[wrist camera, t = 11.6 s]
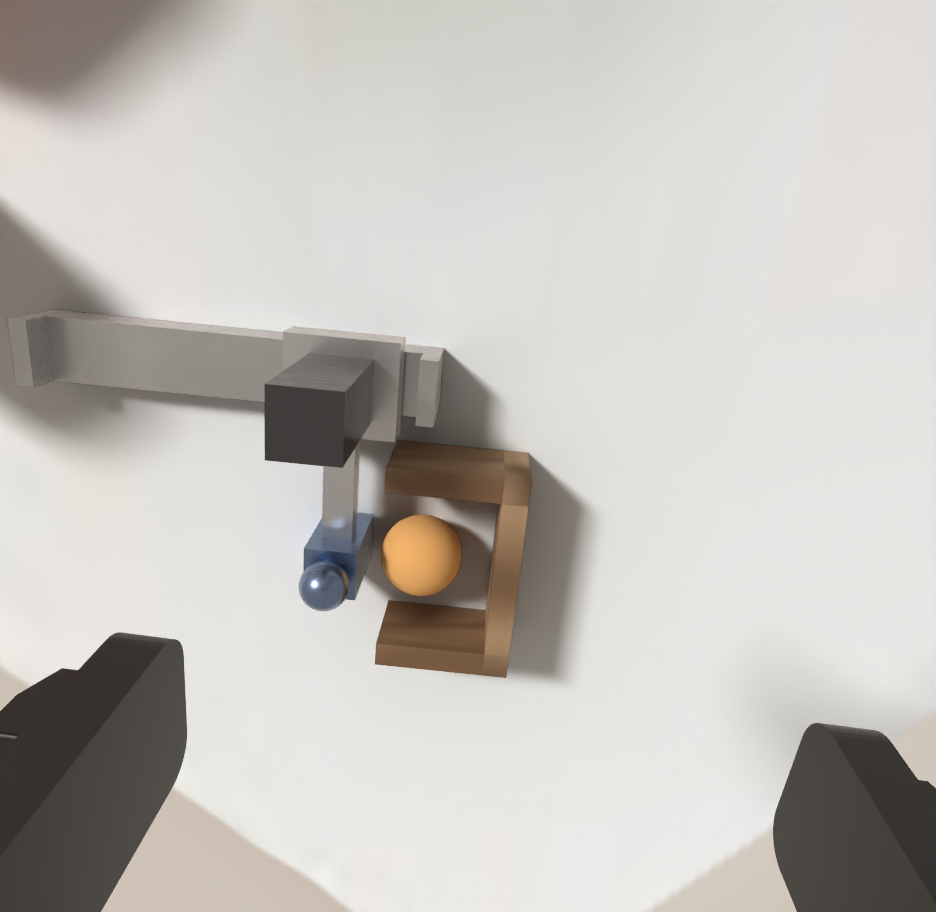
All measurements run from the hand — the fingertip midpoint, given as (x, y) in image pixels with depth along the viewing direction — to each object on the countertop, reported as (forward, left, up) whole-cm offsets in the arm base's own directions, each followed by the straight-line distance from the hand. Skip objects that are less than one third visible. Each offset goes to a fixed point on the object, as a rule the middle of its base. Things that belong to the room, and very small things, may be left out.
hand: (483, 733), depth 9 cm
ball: (+10, -3, -23) cm, 25 cm away
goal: (+10, -1, -25) cm, 27 cm away
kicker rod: (+5, -7, -25) cm, 26 cm away
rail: (+1, -12, -25) cm, 28 cm away
